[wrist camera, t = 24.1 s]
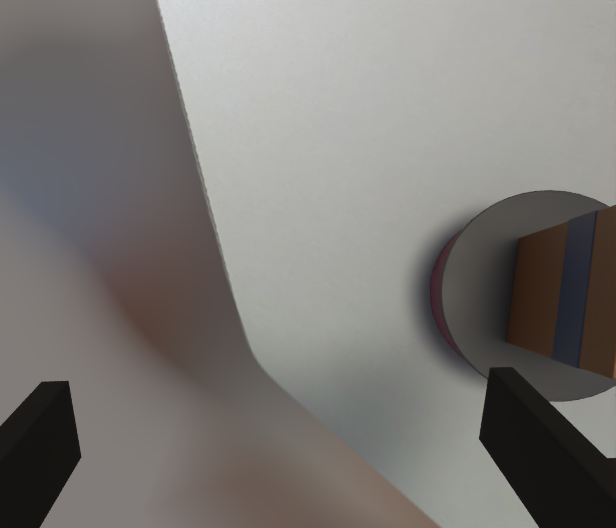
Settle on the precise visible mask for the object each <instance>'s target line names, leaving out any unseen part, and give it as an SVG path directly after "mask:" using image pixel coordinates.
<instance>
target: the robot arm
mask: <svg viewBox="0 0 616 528" xmlns="http://www.w3.org/2000/svg"><path fill="white" fill-rule="evenodd" d="M479 440H480V441H481V443H482V444H483V445H484V447H485V448H486V450H487V451H488V453H489V454H490V456H491V457H492V459H493V460H494V462H495V463H496V465H497V466H498V468H499V469H500V471H501V472H502V473H503V475H504V476H505V478H506V479H507V481H508V482H509V484H510V485H511V487H512V488H513V490H514V491H515V493H516V494H517V496H518V497H519V498H520V500H521V501H522V503H523V504H524V506H525V507H526V509H527V510H528V512H529V513H530V515H531V516H532V518H533V519H534V521H535V522H536V524H537V525H538V526H539V528H616V458H606V457H605V456H604V455H603V454H602V453H601V452H600V451H599V450H598V449H597V448H596V447H595V446H594V445H593V444H592V443H591V442H590V441H589V440H588V439H587V438H586V437H585V436H583V435H582V434H581V433H580V432H579V431H578V430H577V429H576V428H575V427H574V426H573V425H572V424H571V423H570V422H569V421H568V420H567V419H566V418H565V417H564V416H563V415H562V414H561V413H560V412H559V411H558V410H557V409H556V408H555V407H554V406H552V405H551V404H550V403H549V402H548V401H547V400H546V399H545V398H544V397H543V396H542V395H541V394H540V393H539V392H538V391H537V390H536V389H535V388H534V387H533V386H532V385H531V384H530V383H529V382H528V381H527V380H526V379H525V378H524V377H523V376H521V375H520V374H519V373H518V372H517V371H516V370H515V369H514V368H513V367H490V370H489V376H488V383H487V389H486V396H485V403H484V409H483V416H482V422H481V429H480V436H479ZM80 458H81V452H80V446H79V440H78V434H77V428H76V423H75V416H74V411H73V405H72V399H71V393H70V387H69V382H68V381H51V382H41V383H40V384H39V385H38V386H37V387H36V389H35V390H34V391H33V392H32V393H31V394H30V395H29V396H28V397H27V398H26V399H25V401H23V402H22V404H21V405H20V406H19V407H18V408H17V409H16V410H15V411H14V412H13V413H12V414H11V415H10V416H9V418H8V419H7V420H6V421H5V422H4V423H3V424H2V425H1V426H0V528H40V526H41V524H42V523H43V521H44V519H45V518H46V516H47V514H48V513H49V511H50V509H51V507H52V506H53V504H54V502H55V501H56V499H57V497H58V496H59V494H60V492H61V491H62V489H63V487H64V486H65V484H66V482H67V480H68V479H69V477H70V475H71V474H72V472H73V470H74V469H75V467H76V465H77V463H78V462H79V460H80Z"/></svg>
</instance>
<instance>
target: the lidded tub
mask: <svg viewBox="0 0 616 528" xmlns="http://www.w3.org/2000/svg"><path fill="white" fill-rule="evenodd" d="M608 207H609V206H607V205H606V204H603V203H601V202H599V201H597V200H595V199H593V198H590V197H586V196H583V195H580V194H576V193H571V192H566V191H553V190H546V191H533V192H527V193H522V194H519V195H515V196H512V197H509V198H506V199H504V200H502V201H500V202H497V203H495V204H494V205H492V206H490V207H489V208H487V209H486V210H484V211H482V212H481V213H480V214H479V215H477V216H476V217H475V218H474V219H472V220H471V221H470V222H469V223H468V224H467V225H466V226H465V228H464V229H463V230H461V231H460V232H459V233H458V234H456V235H455V236H454V237H453V238H452V239H451V240H450V241H449V242H448V244H447V245H446V246H445V248H444V249H443V250H442V252H441V254H440V256H439V257H438V259H437V261H436V264H435V267H434V269H433V273H432V277H431V284H430V302H431V307H432V312H433V315H434V318H435V321H436V324H437V326H438V328H439V330H440V332H441V333H442V335H443V336H444V338H445V340H446V341H447V342H448V343H449V344H450V346H451V347H452V348H453V349H454V350H455V351H456V352H457V353H458V354H459V355H461V356H462V357H463V358H464V359H465V360H466V361H467V362H468V363H469V364H470V365H471V366H472V367H473V368H474V369H475V370H476V371H477V372H478V373H480V374H481V375H482V376H484V377H485V378H486V379H488V376H489V370H490V367H513V368H514V369H515V370H516V371H517V372H518V373H519V374H520V375H521V376H523V377H524V378H525V379H526V380H527V381H528V382H529V383H530V384H531V385H532V386H533V387H534V388H535V389H536V390H537V391H538V392H539V393H540V394H541V395H542V396H543V397H544V398H545V399H546V400H547V401H562V402H564V401H572V400H579V399H583V398H587V397H591V396H594V395H597V394H599V393H602V392H604V391H607V390H609V389H610V388H612V387H614V386H616V380H613V379H610V378H607V377H604V376H601V375H598V374H595V373H593V372H590V371H587V370H581V369H577V368H574V367H571V366H568V365H565V364H563V363H560V362H557V361H554V360H552V358H549V357H546V356H544V355H541V354H538V353H535V352H532V351H529V350H526V349H523V348H521V347H518V346H515V345H512V344H509V343H507V342H506V340H507V332H508V325H509V317H510V309H511V301H512V294H513V286H514V278H515V270H516V262H517V255H518V247H519V239H520V238H521V237H524V236H527V235H529V234H532V233H535V232H538V231H541V230H544V229H547V228H550V227H553V226H556V225H559V224H561V223H564V222H567V221H569V219H572V218H574V217H577V216H580V215H583V214H586V213H589V212H592V211H594V210H602V209H605V208H608Z"/></svg>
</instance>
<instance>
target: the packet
mask: <svg viewBox="0 0 616 528" xmlns="http://www.w3.org/2000/svg"><path fill="white" fill-rule="evenodd" d="M506 342H507V343H509V344H512V345H515V346H518V347H521V348H523V349H526V350H529V351H532V352H535V353H538V354H541V355H544V356H546V357H549V358H552V360H554V361H557V362H560V363H563V364H565V365H568V366H571V367H574V368H577V369H581V370H587V371H590V372H593V373H595V374H598V375H601V376H604V377H607V378H610V379H613V380H616V205H614V206H611V207H608V208H605V209H602V210H594V211H592V212H589V213H586V214H583V215H580V216H577V217H574V218H572V219H569V221H567V222H564V223H561V224H559V225H556V226H553V227H550V228H547V229H544V230H541V231H538V232H535V233H532V234H529V235H527V236H524V237H521V238H520V239H519V247H518V255H517V262H516V270H515V278H514V286H513V294H512V301H511V309H510V317H509V325H508V332H507V340H506Z"/></svg>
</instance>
